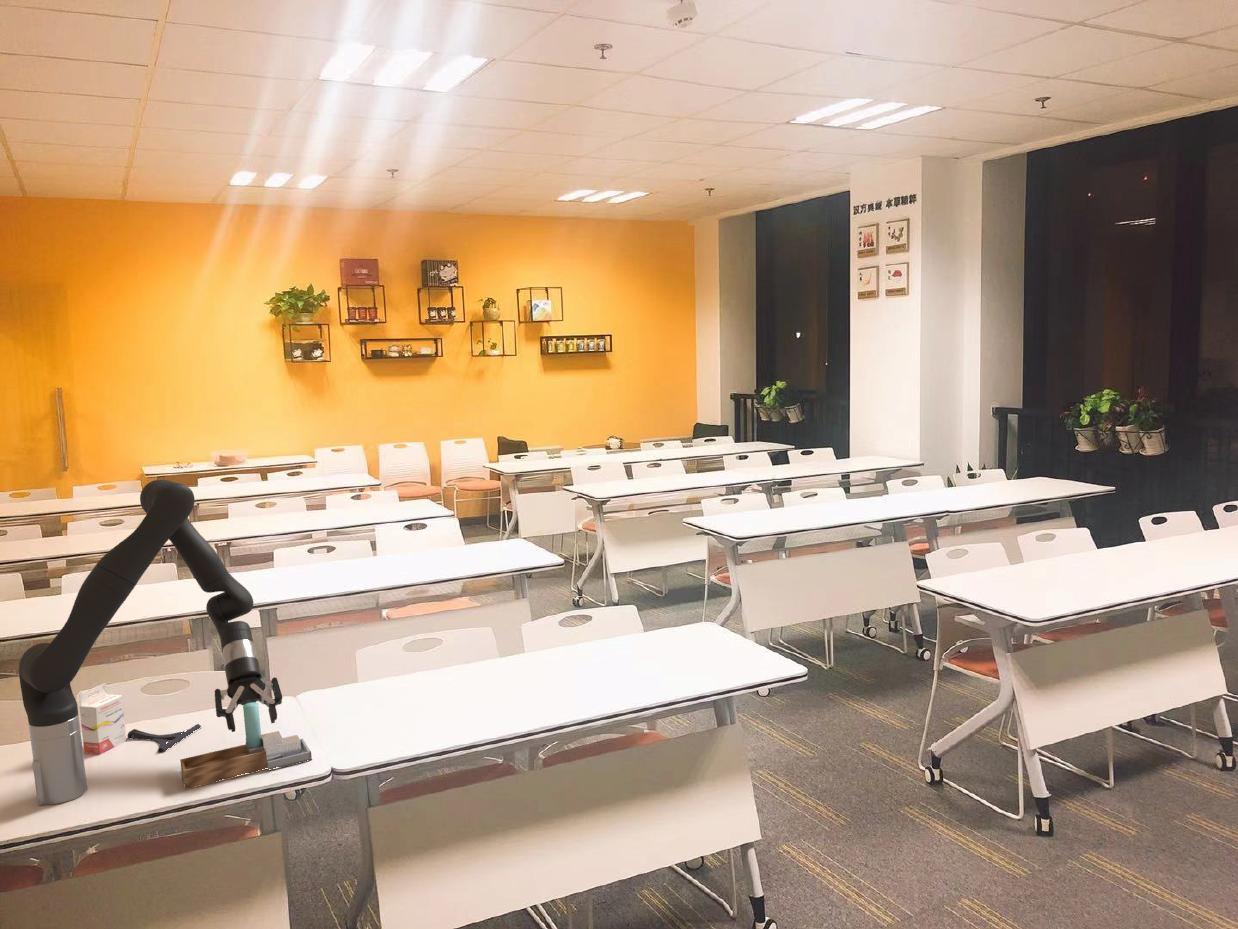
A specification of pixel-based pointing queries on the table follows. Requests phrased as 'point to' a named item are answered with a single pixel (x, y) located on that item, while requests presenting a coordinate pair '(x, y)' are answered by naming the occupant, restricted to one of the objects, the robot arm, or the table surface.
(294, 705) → the table surface
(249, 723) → the teal block
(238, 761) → the channel
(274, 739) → the light grey block
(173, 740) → the black forked piece
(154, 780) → the table surface
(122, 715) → the ink cartridge box
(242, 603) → the robot arm
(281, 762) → the tray
